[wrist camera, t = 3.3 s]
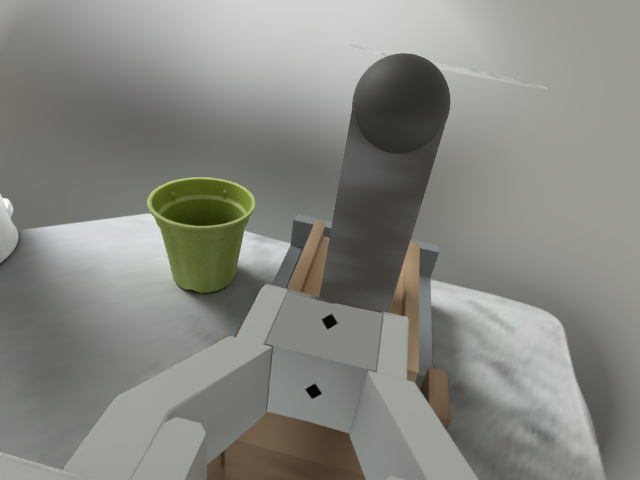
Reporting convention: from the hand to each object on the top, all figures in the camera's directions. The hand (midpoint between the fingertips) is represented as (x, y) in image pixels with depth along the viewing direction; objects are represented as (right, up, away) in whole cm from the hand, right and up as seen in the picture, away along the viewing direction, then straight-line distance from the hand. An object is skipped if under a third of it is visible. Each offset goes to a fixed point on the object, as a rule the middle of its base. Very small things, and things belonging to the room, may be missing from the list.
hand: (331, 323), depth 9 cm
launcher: (+1, -4, +18) cm, 19 cm away
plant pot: (-12, -2, +35) cm, 37 cm away
